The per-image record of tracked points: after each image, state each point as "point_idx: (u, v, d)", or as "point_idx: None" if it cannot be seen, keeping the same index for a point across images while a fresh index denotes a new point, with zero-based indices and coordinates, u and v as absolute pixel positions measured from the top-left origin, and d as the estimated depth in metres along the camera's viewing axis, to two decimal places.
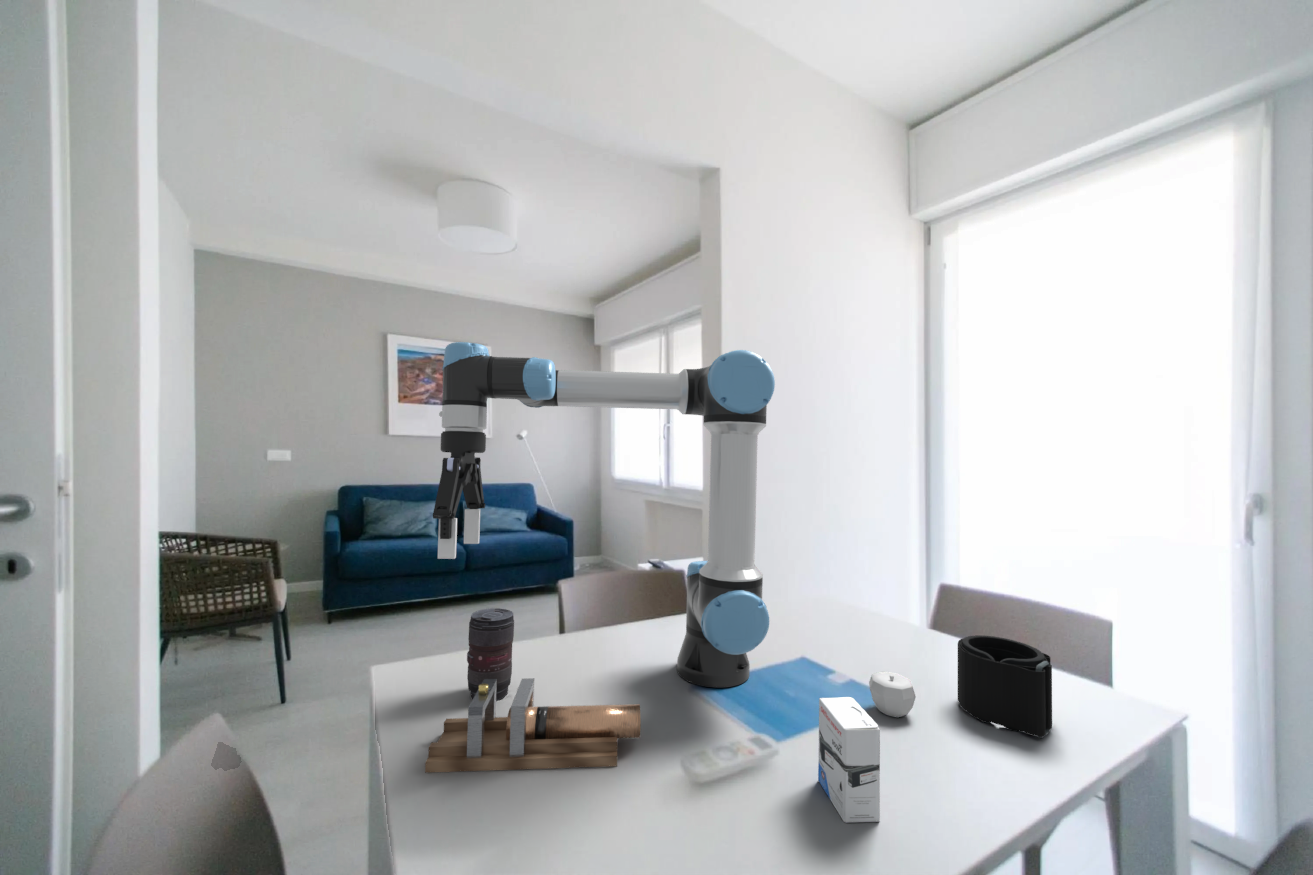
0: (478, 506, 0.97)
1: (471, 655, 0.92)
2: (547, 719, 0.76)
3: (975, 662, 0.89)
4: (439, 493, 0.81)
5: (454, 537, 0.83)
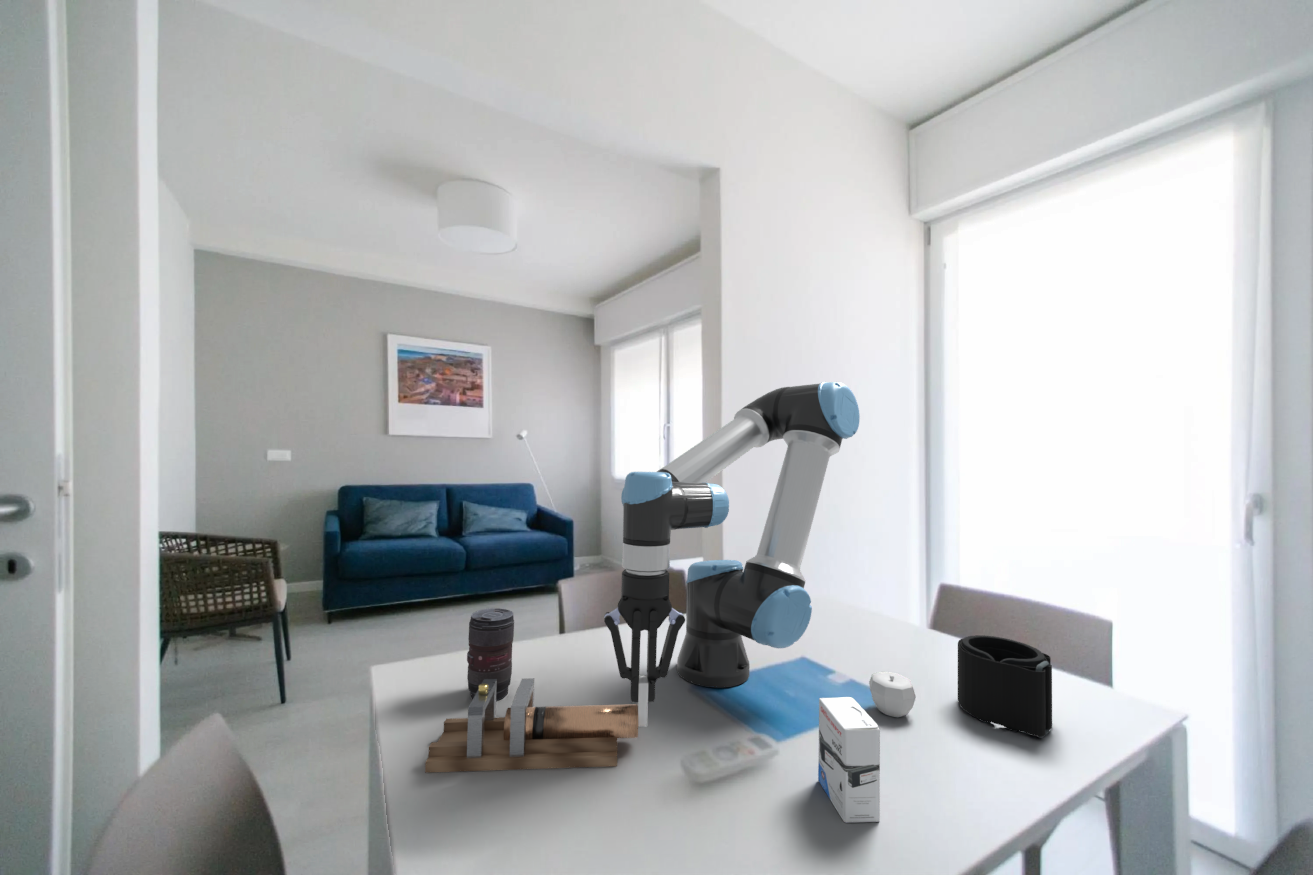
0: (648, 676, 0.78)
1: (471, 655, 0.92)
2: (545, 719, 0.76)
3: (975, 662, 0.89)
4: None
5: (638, 703, 0.78)
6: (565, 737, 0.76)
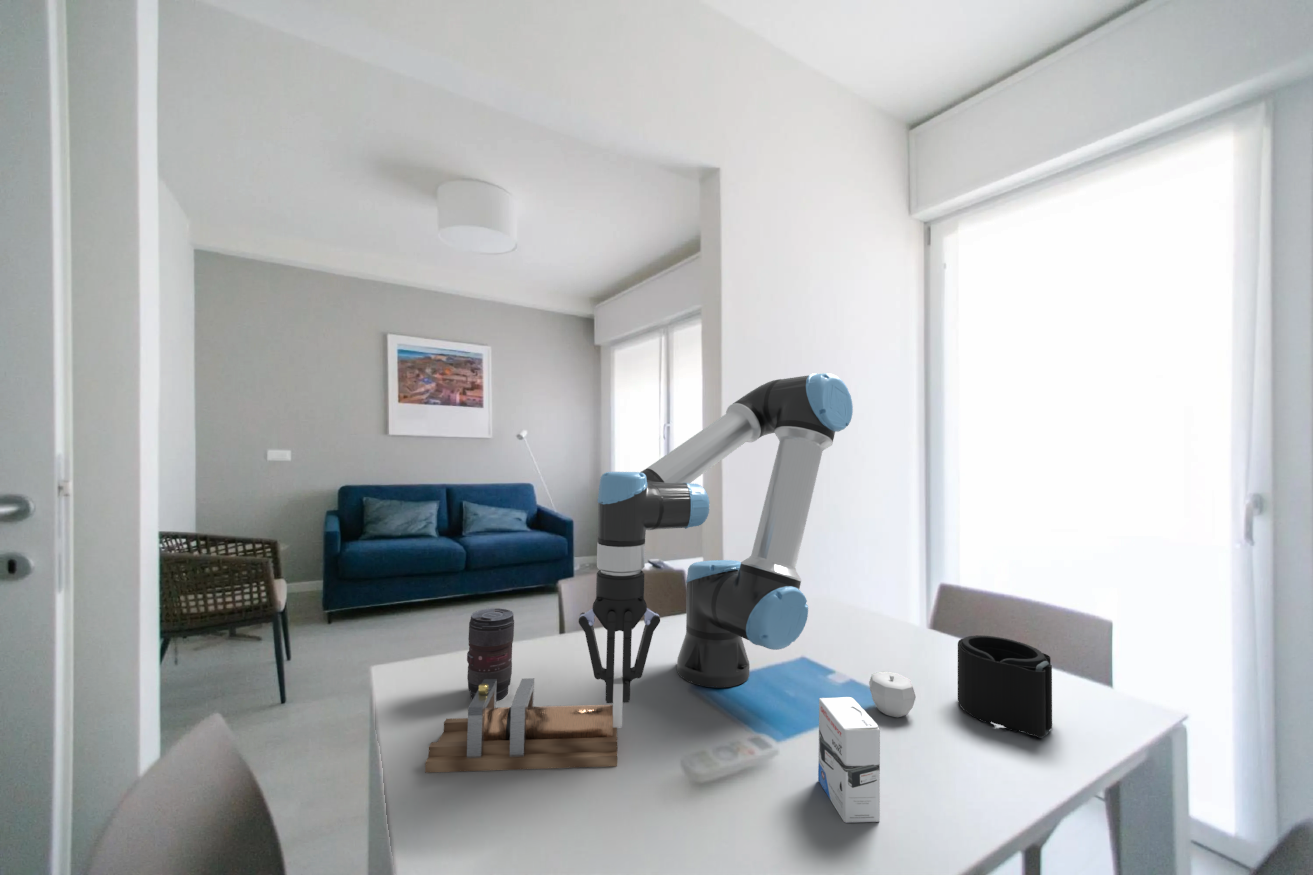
0: (622, 676, 0.78)
1: (471, 655, 0.92)
2: None
3: (975, 662, 0.89)
4: None
5: (613, 704, 0.77)
6: (539, 738, 0.76)
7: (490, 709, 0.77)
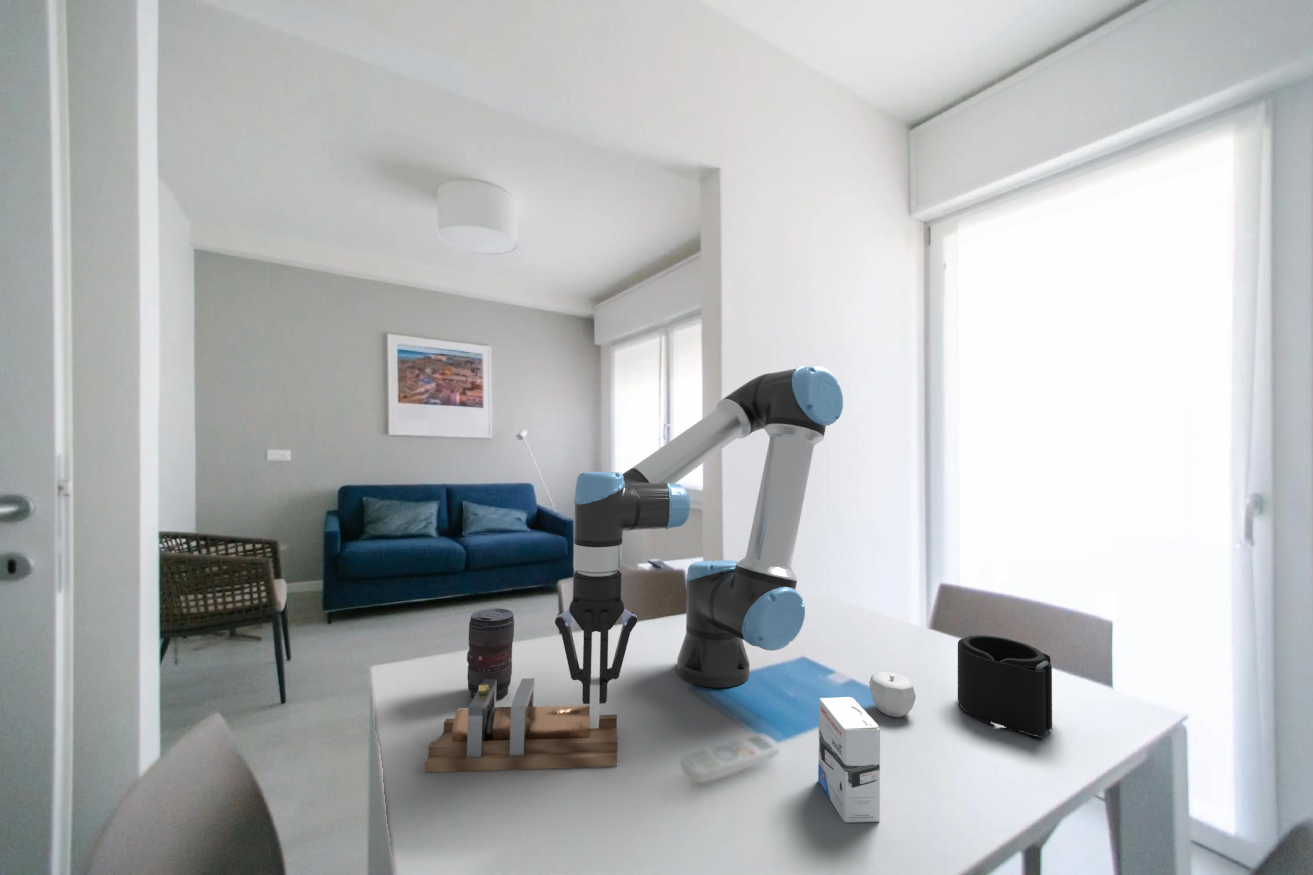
0: (599, 677, 0.78)
1: (471, 655, 0.92)
2: (494, 720, 0.75)
3: (975, 662, 0.89)
4: None
5: (590, 704, 0.77)
6: None
7: (466, 709, 0.77)
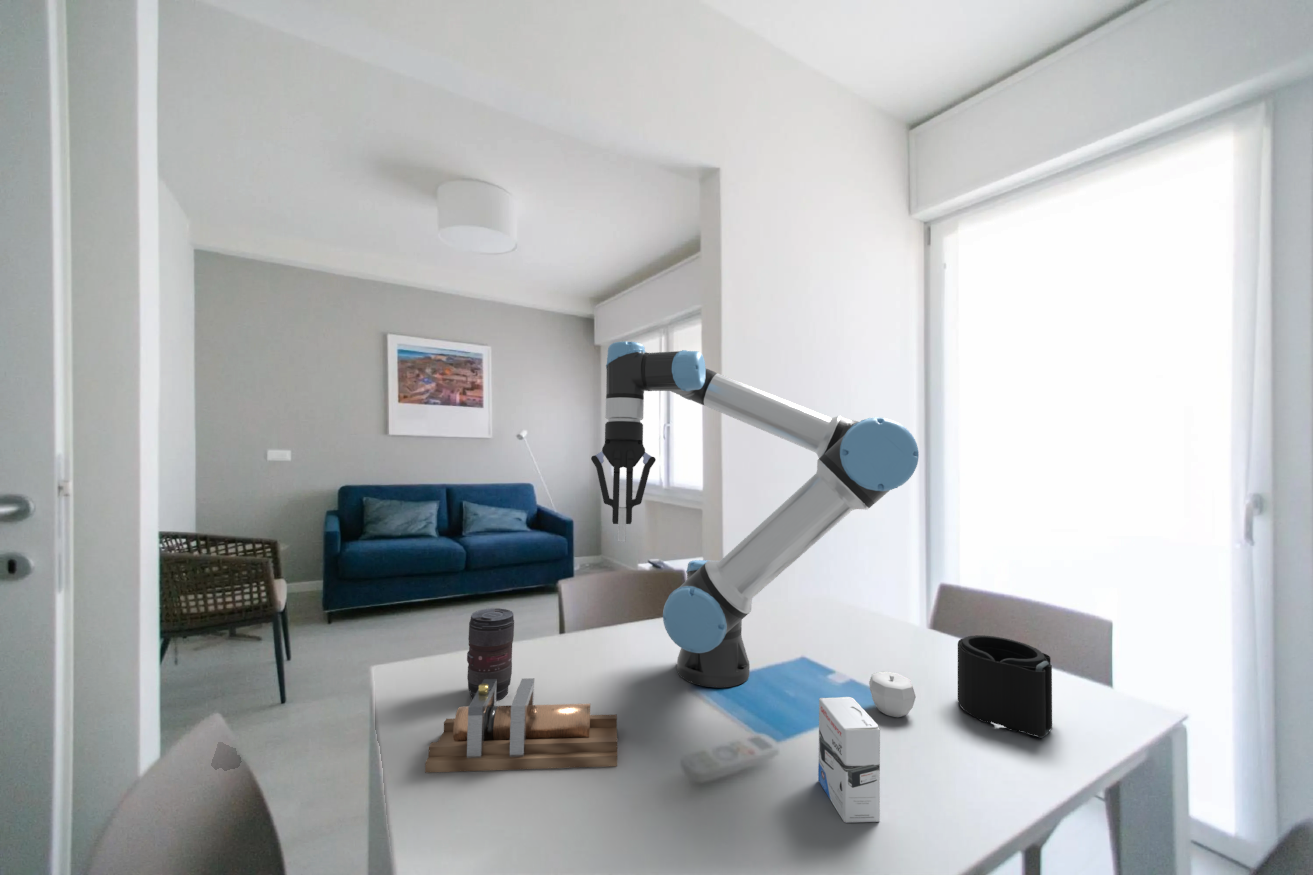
0: (626, 503, 0.99)
1: (471, 655, 0.92)
2: (495, 715, 0.76)
3: (975, 662, 0.89)
4: None
5: None
6: None
7: None
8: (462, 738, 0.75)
